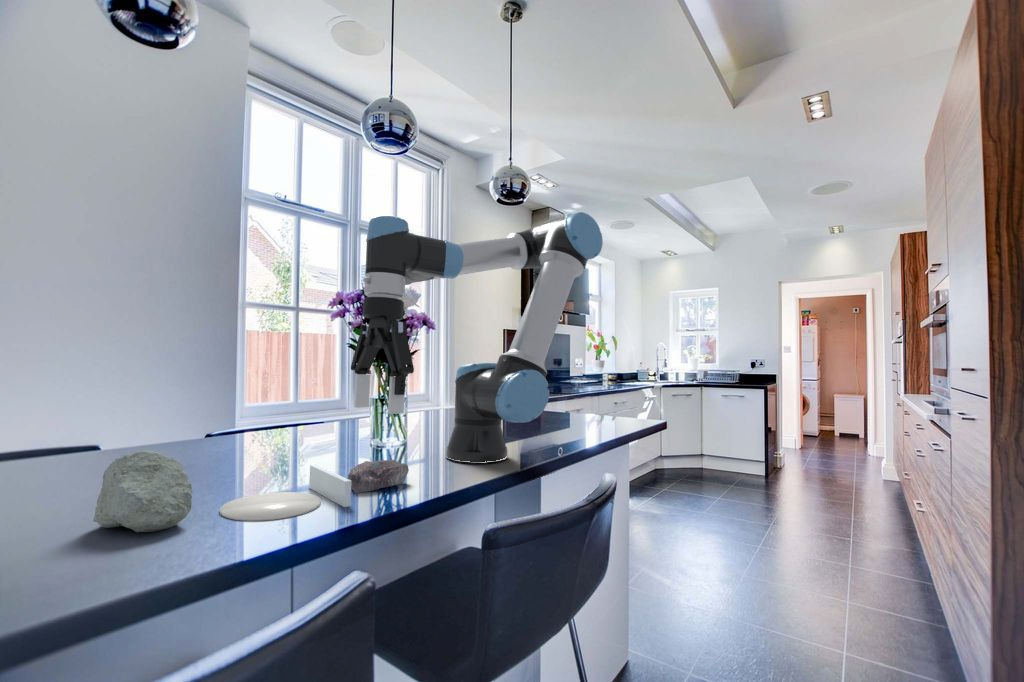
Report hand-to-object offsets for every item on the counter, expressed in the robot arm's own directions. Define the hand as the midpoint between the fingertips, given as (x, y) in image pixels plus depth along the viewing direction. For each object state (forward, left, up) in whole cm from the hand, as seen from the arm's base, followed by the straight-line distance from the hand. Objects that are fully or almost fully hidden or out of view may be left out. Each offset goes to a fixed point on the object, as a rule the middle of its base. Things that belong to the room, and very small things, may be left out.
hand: (377, 410), depth 90 cm
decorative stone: (+35, +2, -14) cm, 38 cm away
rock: (0, 0, -14) cm, 14 cm away
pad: (+19, +3, -14) cm, 23 cm away
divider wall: (+10, +3, -14) cm, 17 cm away
